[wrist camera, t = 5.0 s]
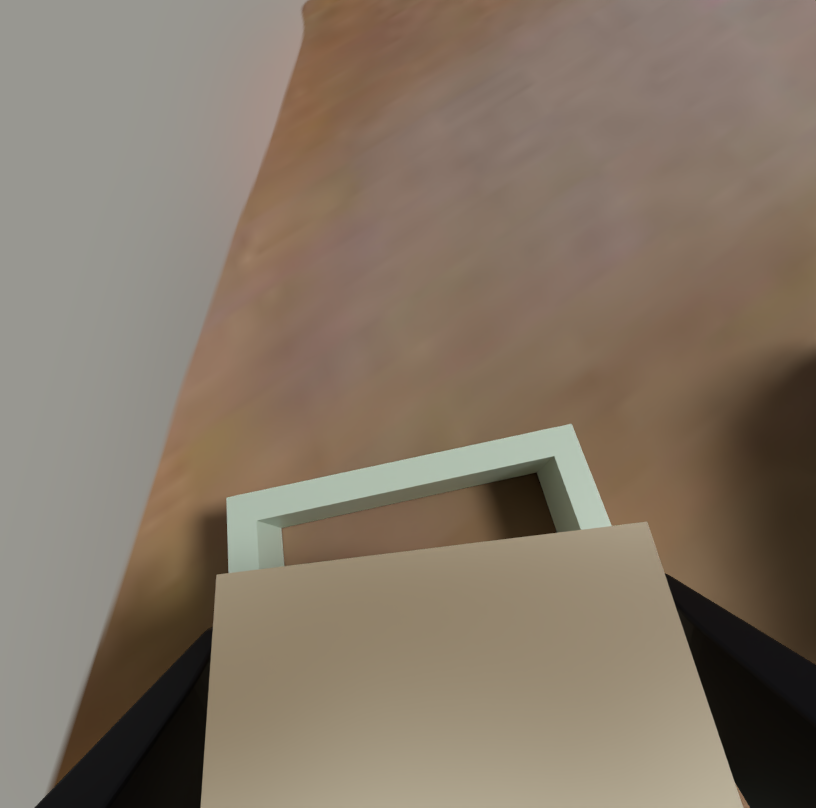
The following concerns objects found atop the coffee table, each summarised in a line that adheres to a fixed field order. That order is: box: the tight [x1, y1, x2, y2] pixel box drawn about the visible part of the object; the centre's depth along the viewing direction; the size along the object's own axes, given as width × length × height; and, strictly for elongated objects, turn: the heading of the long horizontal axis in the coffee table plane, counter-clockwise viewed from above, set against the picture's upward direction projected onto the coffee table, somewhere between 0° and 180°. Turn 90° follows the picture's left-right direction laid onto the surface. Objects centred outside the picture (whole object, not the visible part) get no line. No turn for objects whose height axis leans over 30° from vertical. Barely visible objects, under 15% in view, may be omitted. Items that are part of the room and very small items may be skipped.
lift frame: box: [227, 424, 611, 573], centre depth 13 cm, size 12×12×2 cm
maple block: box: [201, 522, 743, 808], centre depth 9 cm, size 5×6×11 cm
